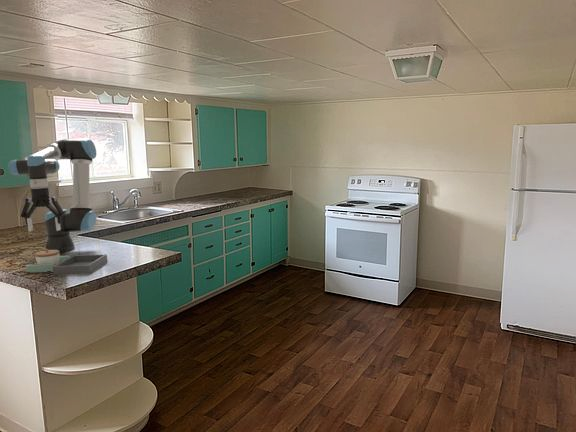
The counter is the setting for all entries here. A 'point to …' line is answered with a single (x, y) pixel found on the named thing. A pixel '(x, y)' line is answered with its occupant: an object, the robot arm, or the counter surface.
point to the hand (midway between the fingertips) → (44, 230)
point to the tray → (80, 264)
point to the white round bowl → (48, 257)
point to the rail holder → (44, 266)
